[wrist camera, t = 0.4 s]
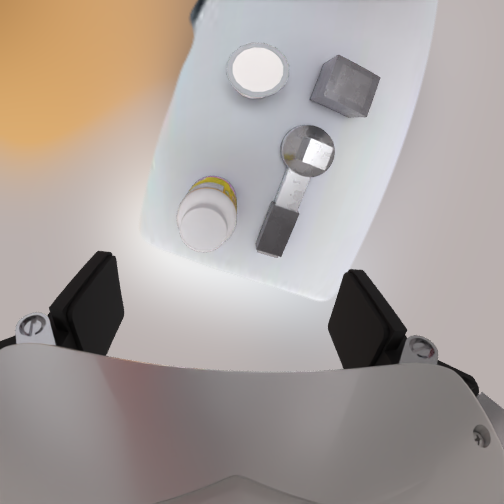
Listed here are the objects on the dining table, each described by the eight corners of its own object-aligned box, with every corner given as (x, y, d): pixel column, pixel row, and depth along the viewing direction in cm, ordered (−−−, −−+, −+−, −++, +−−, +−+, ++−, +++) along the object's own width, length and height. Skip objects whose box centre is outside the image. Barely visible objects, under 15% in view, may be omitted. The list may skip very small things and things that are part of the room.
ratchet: (291, 117, 33) (301, 116, 28) (336, 137, 35) (353, 139, 29) (244, 243, 41) (245, 263, 36) (287, 256, 42) (294, 276, 37)
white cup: (284, 99, 32) (294, 93, 26) (232, 107, 32) (232, 102, 26) (274, 53, 29) (283, 39, 23) (223, 61, 29) (221, 47, 23)
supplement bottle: (232, 223, 40) (231, 266, 28) (187, 217, 39) (167, 257, 27) (240, 178, 37) (242, 203, 25) (192, 171, 36) (172, 193, 24)
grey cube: (323, 64, 30) (338, 54, 25) (360, 82, 31) (380, 77, 26) (309, 99, 32) (323, 95, 27) (348, 117, 33) (366, 116, 28)
